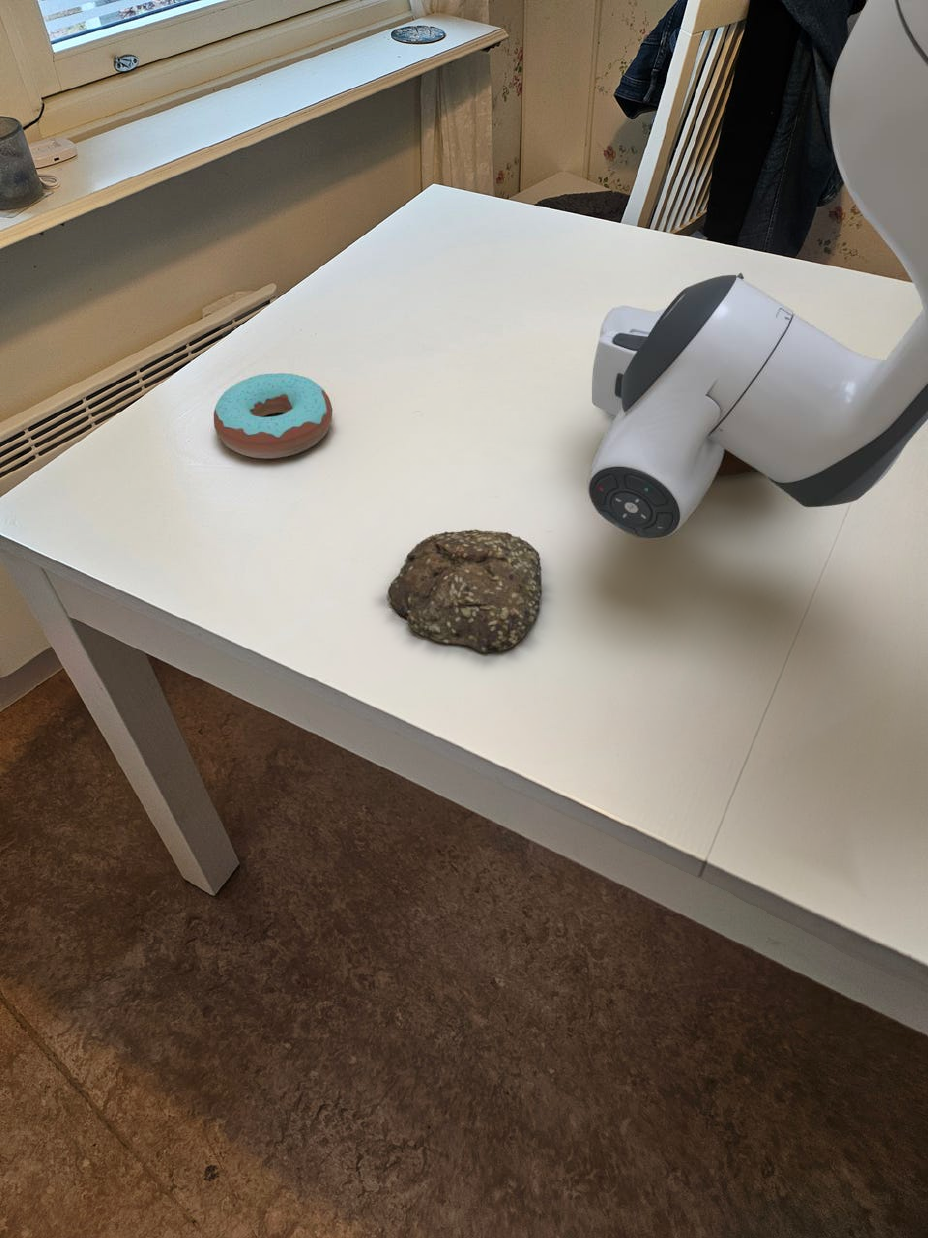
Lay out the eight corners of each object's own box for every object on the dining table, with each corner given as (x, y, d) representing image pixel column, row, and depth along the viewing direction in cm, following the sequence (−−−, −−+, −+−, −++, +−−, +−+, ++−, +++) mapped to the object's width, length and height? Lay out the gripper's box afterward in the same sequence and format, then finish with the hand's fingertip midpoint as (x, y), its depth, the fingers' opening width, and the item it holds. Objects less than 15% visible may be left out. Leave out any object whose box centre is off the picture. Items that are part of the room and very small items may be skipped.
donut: (354, 442, 88) (350, 409, 85) (242, 481, 84) (234, 446, 81) (307, 387, 95) (301, 354, 92) (201, 420, 91) (192, 387, 88)
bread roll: (553, 557, 76) (557, 513, 73) (528, 662, 68) (531, 619, 64) (412, 536, 78) (409, 493, 75) (372, 636, 70) (366, 592, 66)
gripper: (834, 391, 66) (862, 310, 74) (580, 334, 72) (633, 265, 81) (811, 459, 70) (840, 375, 79) (574, 399, 77) (625, 328, 85)
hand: (734, 319), depth 80 cm, fingers open, 8 cm apart
